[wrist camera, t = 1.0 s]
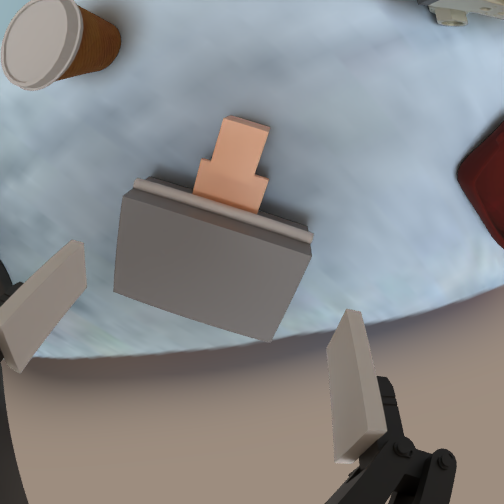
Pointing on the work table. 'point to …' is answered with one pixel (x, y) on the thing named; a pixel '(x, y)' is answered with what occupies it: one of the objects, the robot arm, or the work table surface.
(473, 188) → the ashtray
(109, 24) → the disposable coffee cup
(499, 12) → the ball valve
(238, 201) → the orange stepped block
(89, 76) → the work table surface
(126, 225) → the block
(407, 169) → the work table surface
